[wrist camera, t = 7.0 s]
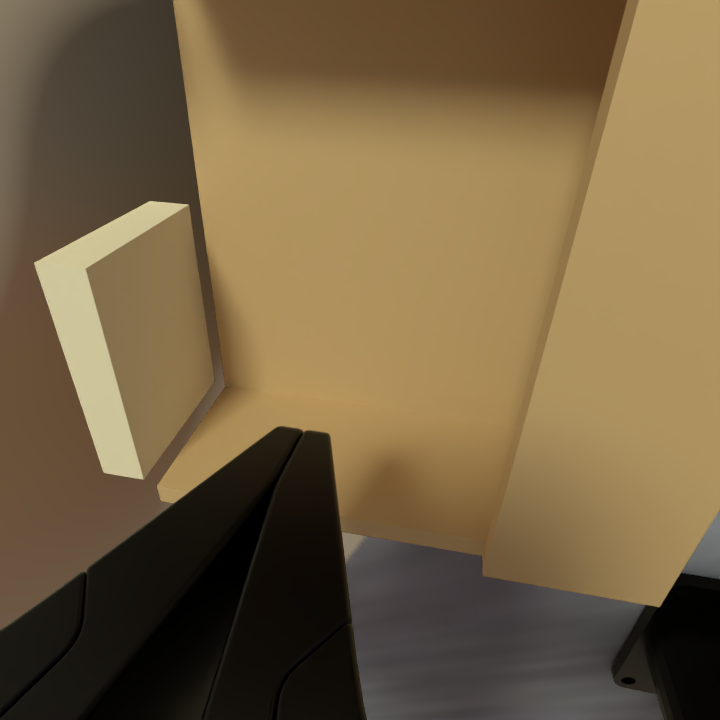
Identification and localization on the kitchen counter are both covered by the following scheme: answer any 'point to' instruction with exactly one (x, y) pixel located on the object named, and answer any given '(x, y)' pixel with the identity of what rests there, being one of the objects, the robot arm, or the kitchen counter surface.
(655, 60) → the carton
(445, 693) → the kitchen counter surface
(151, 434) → the flap
